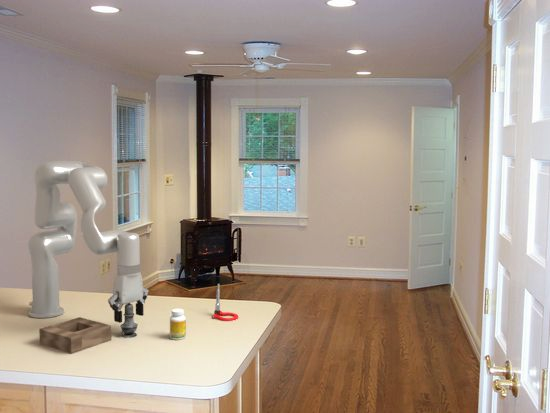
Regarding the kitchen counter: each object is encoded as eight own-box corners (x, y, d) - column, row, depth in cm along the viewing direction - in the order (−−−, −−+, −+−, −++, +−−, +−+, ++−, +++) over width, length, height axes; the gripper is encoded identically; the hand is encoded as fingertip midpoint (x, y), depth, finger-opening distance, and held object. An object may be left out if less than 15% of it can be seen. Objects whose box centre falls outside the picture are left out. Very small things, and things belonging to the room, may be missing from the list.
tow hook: (241, 317, 230) (219, 313, 233) (243, 284, 229) (221, 281, 232) (232, 323, 223) (210, 319, 226) (234, 289, 221) (212, 286, 224)
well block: (39, 343, 196) (39, 328, 195) (79, 331, 209) (79, 317, 209) (71, 353, 187) (71, 338, 187) (111, 340, 200) (111, 325, 200)
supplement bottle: (167, 336, 205) (167, 309, 204) (183, 334, 208) (183, 307, 207) (172, 341, 201) (172, 313, 200) (187, 339, 203) (187, 311, 202)
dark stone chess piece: (133, 338, 202) (133, 304, 201) (117, 337, 203) (116, 302, 202) (140, 333, 208) (140, 299, 207) (125, 331, 209) (124, 298, 208)
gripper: (139, 263, 212) (140, 310, 214) (100, 272, 198) (101, 322, 200) (154, 266, 208) (155, 314, 210) (116, 275, 194) (117, 326, 196)
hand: (129, 318), depth 205 cm, fingers open, 9 cm apart
